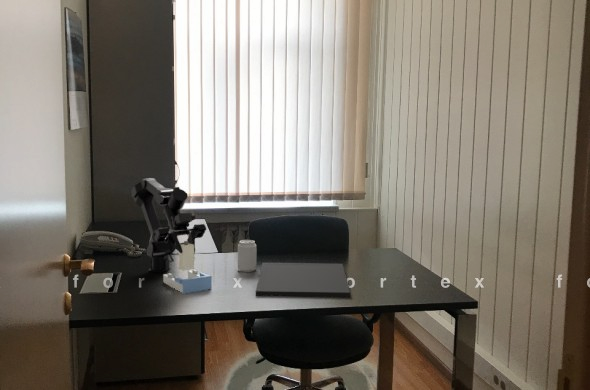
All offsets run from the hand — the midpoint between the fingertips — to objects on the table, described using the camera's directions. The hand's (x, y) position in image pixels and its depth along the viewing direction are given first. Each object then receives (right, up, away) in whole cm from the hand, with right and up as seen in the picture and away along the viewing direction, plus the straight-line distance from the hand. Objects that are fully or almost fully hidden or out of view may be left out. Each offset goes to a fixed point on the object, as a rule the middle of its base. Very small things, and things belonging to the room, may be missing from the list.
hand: (187, 251), depth 228 cm
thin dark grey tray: (+42, -13, +11) cm, 45 cm away
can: (+20, -10, +26) cm, 34 cm away
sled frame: (-1, -13, +3) cm, 13 cm away
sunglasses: (-11, -7, +47) cm, 49 cm away
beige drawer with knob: (-1, -6, +2) cm, 7 cm away
